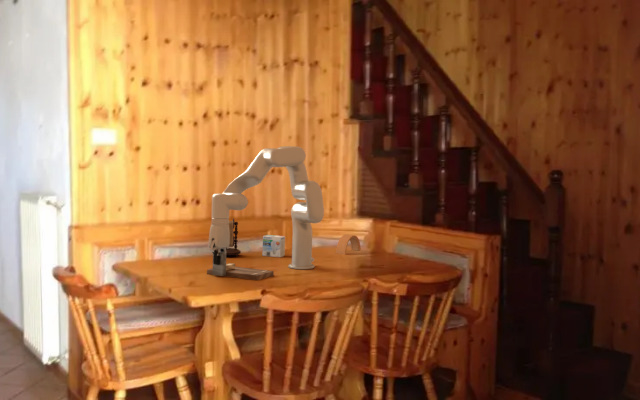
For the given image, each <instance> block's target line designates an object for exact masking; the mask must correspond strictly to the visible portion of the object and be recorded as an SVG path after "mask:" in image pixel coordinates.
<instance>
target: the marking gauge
mask: <svg viewBox="0 0 640 400" xmlns="http://www.w3.org/2000/svg"><path fill="white" fill-rule="evenodd" d="M219 256H220V265H216V264H214V255H213V254H212V268H213V273H212V276H218V275H220V277H224V276H223V275H226V270H230V269H234V268H235V267H236V263H227V255H226V252H221V251H220V255H219Z"/></svg>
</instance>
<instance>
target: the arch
mask: <svg viewBox="0 0 640 400" xmlns="http://www.w3.org/2000/svg"><path fill="white" fill-rule="evenodd" d="M349 242H350V247H351V249H350V250H351V251H354V250H359V251H358V252H360V250H361V249H362V248H361V242H360V239H359V237H358V236H357V235H352V234H343V235H341V237H340V238H339V240H338V241H337V246H336V249H335V254H336V253H338V254H337V255H343V254H346V253H347V246H348V243H349Z"/></svg>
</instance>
